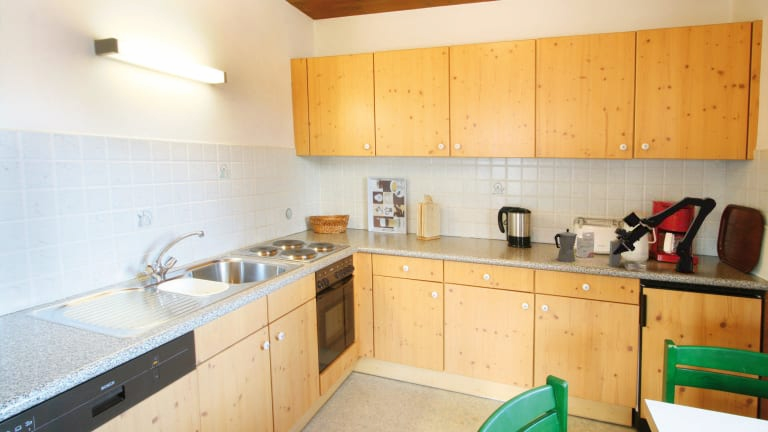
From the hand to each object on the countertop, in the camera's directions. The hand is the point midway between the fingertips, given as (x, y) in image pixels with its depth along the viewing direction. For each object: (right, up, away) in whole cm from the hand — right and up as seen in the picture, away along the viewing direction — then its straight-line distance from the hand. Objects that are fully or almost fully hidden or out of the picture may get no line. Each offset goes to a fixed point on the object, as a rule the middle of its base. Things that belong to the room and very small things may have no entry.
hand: (612, 253), depth 240 cm
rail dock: (+8, -8, -7) cm, 13 cm away
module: (+1, -7, +1) cm, 7 cm away
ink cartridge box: (-5, -4, +22) cm, 23 cm away
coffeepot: (-21, -5, +12) cm, 25 cm away
